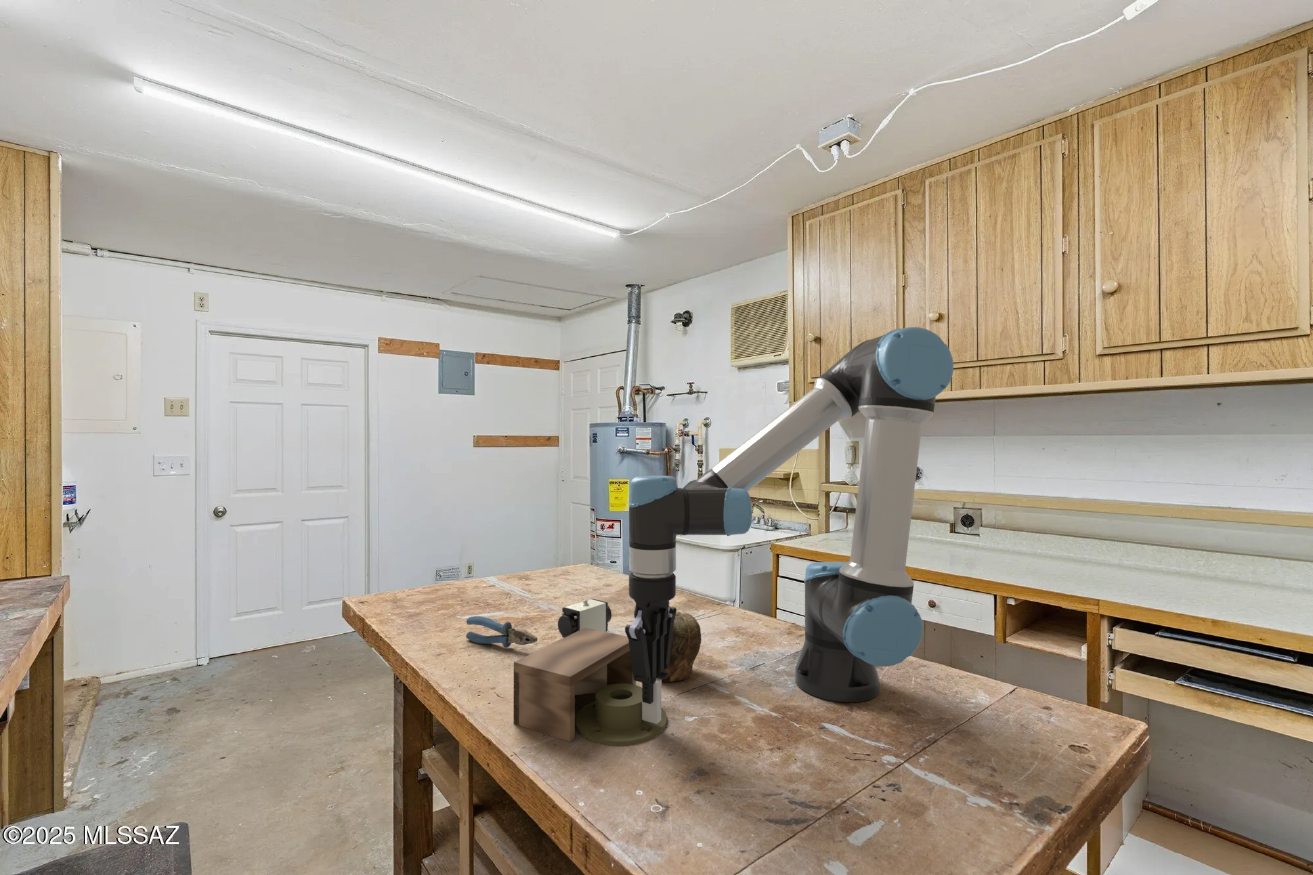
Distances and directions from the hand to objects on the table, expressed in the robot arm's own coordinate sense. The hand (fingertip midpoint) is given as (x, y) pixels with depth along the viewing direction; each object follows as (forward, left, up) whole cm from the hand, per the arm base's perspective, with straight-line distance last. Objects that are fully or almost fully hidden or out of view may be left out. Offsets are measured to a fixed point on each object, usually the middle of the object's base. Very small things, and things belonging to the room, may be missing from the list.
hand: (651, 719), depth 93 cm
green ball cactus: (+7, -21, -2) cm, 22 cm away
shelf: (+14, 0, -2) cm, 14 cm away
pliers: (+47, -15, -2) cm, 49 cm away
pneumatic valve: (+28, -20, -2) cm, 34 cm away
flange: (+6, 0, -2) cm, 6 cm away
